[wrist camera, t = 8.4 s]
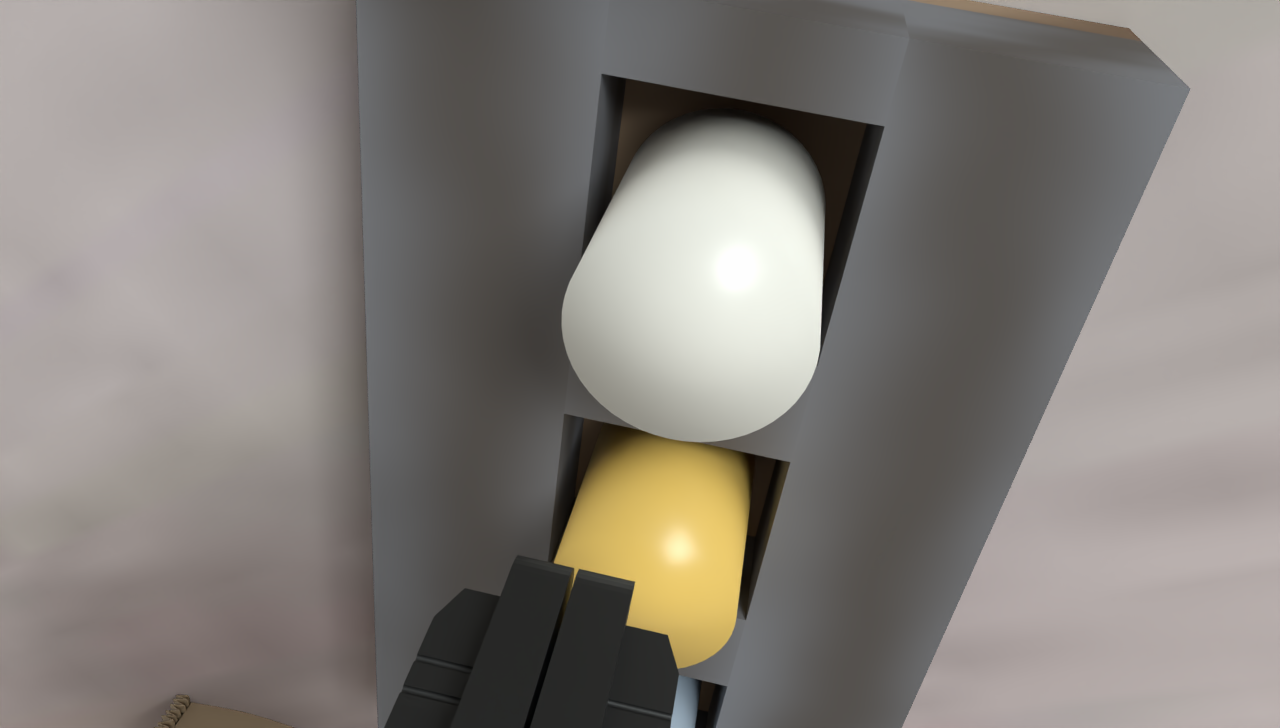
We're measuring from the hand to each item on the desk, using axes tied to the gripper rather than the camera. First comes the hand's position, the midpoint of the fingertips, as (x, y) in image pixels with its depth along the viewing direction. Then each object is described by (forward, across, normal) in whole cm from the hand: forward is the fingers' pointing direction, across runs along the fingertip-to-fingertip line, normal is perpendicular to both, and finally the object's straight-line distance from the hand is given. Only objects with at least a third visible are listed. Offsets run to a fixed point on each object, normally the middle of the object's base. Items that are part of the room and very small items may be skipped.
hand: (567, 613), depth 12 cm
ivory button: (+10, -1, -2) cm, 10 cm away
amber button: (+11, -1, +6) cm, 12 cm away
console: (+12, -1, +6) cm, 14 cm away
